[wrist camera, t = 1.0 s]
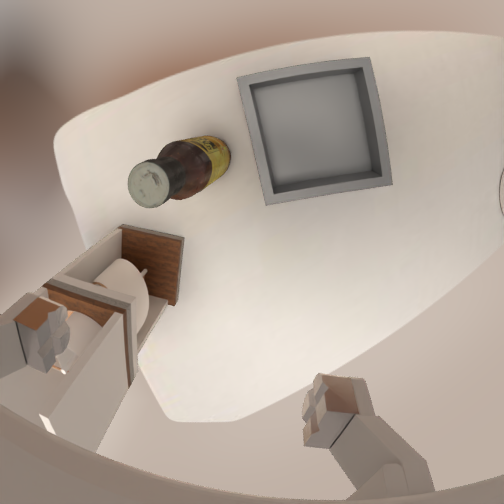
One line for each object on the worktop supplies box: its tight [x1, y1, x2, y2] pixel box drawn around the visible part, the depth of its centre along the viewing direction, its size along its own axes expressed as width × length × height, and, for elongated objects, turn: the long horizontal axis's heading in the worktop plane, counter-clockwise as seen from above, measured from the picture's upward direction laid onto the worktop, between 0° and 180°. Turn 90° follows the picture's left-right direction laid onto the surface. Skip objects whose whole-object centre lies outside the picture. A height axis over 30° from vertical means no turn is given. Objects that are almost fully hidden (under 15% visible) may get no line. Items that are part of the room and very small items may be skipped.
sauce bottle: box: [128, 136, 231, 208], centre depth 34 cm, size 6×6×20 cm
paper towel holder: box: [0, 224, 184, 453], centre depth 34 cm, size 11×11×35 cm
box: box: [237, 57, 393, 206], centre depth 37 cm, size 16×16×6 cm
